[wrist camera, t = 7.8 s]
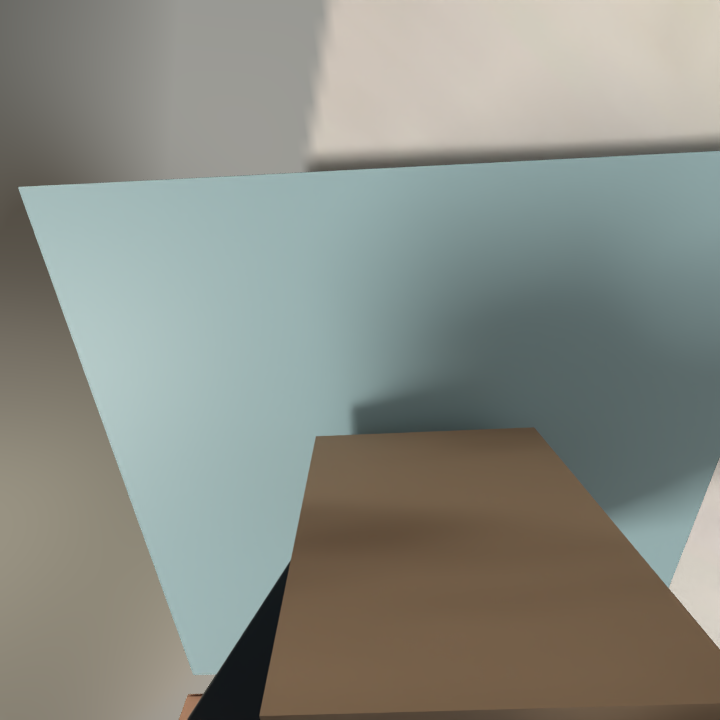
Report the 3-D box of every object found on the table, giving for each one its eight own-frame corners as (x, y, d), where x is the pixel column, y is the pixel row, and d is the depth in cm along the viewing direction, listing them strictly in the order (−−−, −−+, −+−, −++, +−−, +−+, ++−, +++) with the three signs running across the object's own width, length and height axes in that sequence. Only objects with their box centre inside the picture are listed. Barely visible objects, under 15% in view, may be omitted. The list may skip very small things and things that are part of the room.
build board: (620, 631, 14) (639, 662, 13) (204, 644, 14) (193, 675, 13) (784, 153, 8) (842, 144, 7) (57, 190, 8) (17, 187, 7)
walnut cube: (510, 581, 10) (641, 895, 5) (332, 587, 10) (308, 901, 5) (533, 427, 8) (764, 702, 4) (315, 436, 8) (258, 716, 4)
